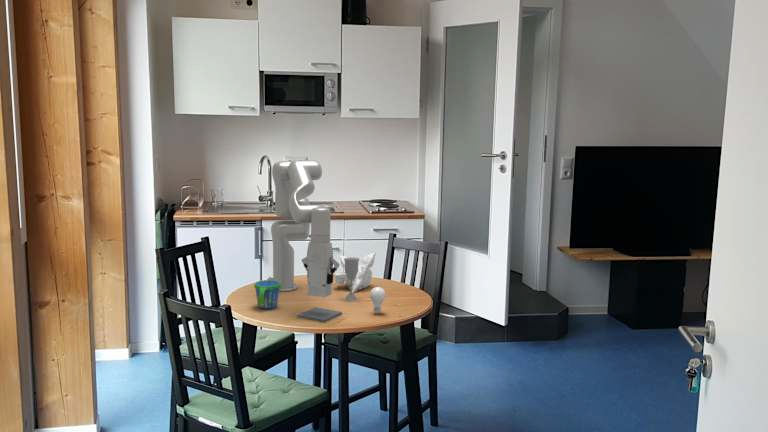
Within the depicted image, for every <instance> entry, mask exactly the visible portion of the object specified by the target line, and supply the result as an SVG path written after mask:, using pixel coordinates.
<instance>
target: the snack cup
mask: <svg viewBox="0 0 768 432" xmlns="http://www.w3.org/2000/svg"><path fill="white" fill-rule="evenodd" d="M280 286H281V284H280V282H278V281H272V280H267V279H266V280H259V281H256V282H255V283H254V285H253V287H254V288H255V294H256V299H257V300H256V301H257V307H258V308H260V309H264V310H271V309H275V308H276V307H277V305H278V300H279V293H280V291H279V288H280Z"/></svg>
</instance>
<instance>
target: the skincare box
mask: <svg viewBox="0 0 768 432" xmlns="http://www.w3.org/2000/svg"><path fill="white" fill-rule="evenodd" d="M314 260H315V259H314ZM314 260H313V259H311V258H309V271H308V278H307V292H306V293H307V294H306V295H307V296H314V297H320V298H321V297H322V298H327V297H329V296H331V295H332V287H333V286H332V285H333V283H331V284H327V274H328V272H327V271H328V268H326V269H322V268H317V267H315V265H314ZM315 261H316V260H315ZM316 263H317V262H316ZM331 264H332V263H331V262H330V265H329V266H331ZM332 267H333V268H334V265H333V266H332Z"/></svg>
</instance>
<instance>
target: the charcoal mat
mask: <svg viewBox="0 0 768 432" xmlns="http://www.w3.org/2000/svg"><path fill="white" fill-rule="evenodd" d="M341 315H343V311H338V310H333V309H330V308H329V309H328V308H322V307H317V306H315V307H313V308H310V309H307V310H304V311H303V312H301V313H298V314H296V318H298V319H299V318H300V319H305V320H309V321H315V322H320V323H326V322H329V321H331V320H333V319H335V318H337V317H340V316H341Z"/></svg>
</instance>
